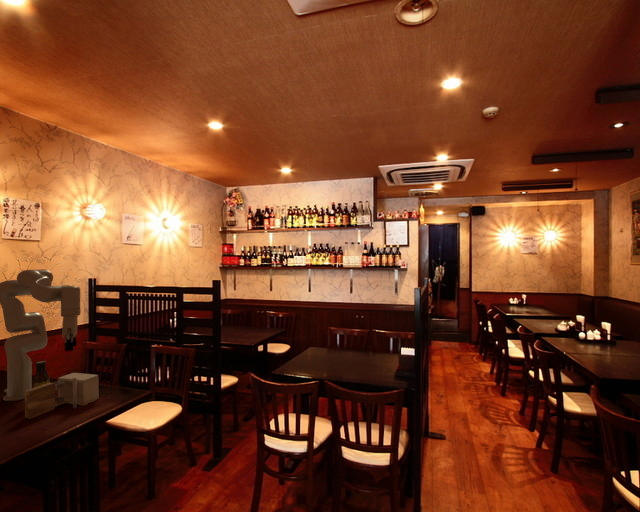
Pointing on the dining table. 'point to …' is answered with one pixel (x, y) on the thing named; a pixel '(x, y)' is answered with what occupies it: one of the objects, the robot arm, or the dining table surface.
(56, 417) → the dining table surface
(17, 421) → the dining table surface
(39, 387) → the door
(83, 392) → the white box
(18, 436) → the dining table surface
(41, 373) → the sauce bottle
